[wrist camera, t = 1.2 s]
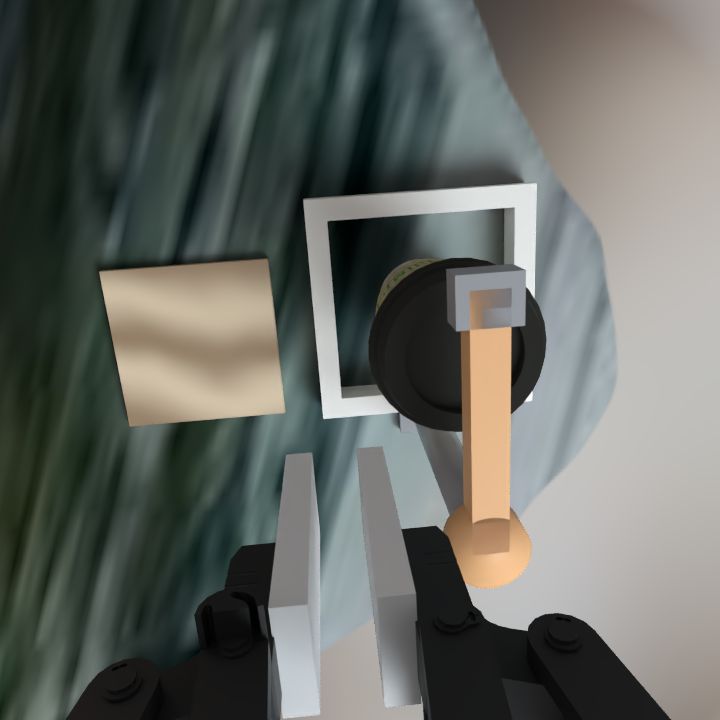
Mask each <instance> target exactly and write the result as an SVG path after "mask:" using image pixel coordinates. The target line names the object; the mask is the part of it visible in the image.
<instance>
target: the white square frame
mask: <svg viewBox="0 0 720 720" xmlns="http://www.w3.org/2000/svg"><path fill="white" fill-rule="evenodd" d="M536 192H537V183H513V184H499V185H485V186H471V187H457V188H443V189H429V190H416V191H402V192H388V193H374V194H360V195H346V196H332V197H319V198H305V199H303V204H304V215H305V225H306V236H307V247H308V258H309V269H310V279H311V290H312V301H313V312H314V323H315V333H316V344H317V355H318V366H319V377H320V387H321V398H322V409H323V419H329V418H340V417H352V416H363V415H374V414H386V413H397V412H398V411H397V410H396V409H395V408H394V407H393V406H392V405H390V404H389V403H388V401H387V400H386V399H385V397H384V396H383V394H382V393H381V392H380V390H379V389H378V386H377V384H374V385H362V386H351V387H341V384H340V371H339V359H338V347H337V335H336V322H335V310H334V298H333V286H332V273H331V261H330V249H329V237H328V224H327V221H335V220H349V219H362V218H376V217H390V216H403V215H417V214H430V213H444V212H457V211H471V210H484V209H498V208H504V265H505V264H514V265H516V266H518V267H520V268H523V269H525V270H526V287H527V288H528V289H529V291H530V292H531V294H532V296H533V297H534V290H535V241H536ZM525 401H532V392H531V393H530V395H529V396H528V397H527V399H526V400H525ZM399 424H400V431H401V433H407V432H418V433H419V436H420V438H421V441H422V444H423V446H424V449H425V451H426V454H427V457H428V459H429V462H430V464H431V467H432V470H433V472H434V475H435V478H436V480H437V483H438V485H439V488H440V491H441V493H442V496H443V498H444V501H445V504H446V506H447V509H448V512H449V514H450V515H451V514H452V513H453V511H454V510H456V509H457V508H458V507H459V506H461V505H462V504H464V491H463V446H462V444H461V442H460V440H459V438H458V437H457V435H456V433H455V432H453V431H450V432H448V431H442V430H435V429H430V428H428V427H425V426H422V425H419V424H416V423H415V422H413V421H411V420H409V419H408V418H406V417H404V416H403V415H402V414H400V413H399Z"/></svg>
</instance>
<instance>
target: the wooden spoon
mask: <svg viewBox="0 0 720 720" xmlns="http://www.w3.org/2000/svg"><path fill="white" fill-rule="evenodd" d="M446 277H447V319H448V323H449V324H450V325H451V326H452V327H453V328H454V330H455V331H461V375H462V433H463V491H464V504H462V505H461V506H459V507H458V508H457V509H456V510H454V511H453V513H452V514H451V515H450V516H449V518H448V519H447V521H446V523H445V526H444V531H443V532H444V533H445V534H446V535H447V536H448V537H449V540H450V542H451V545H452V548H453V552H454V554H455V557H456V559H457V564H458V565H459V568H460V571H461V573H462V576H463V579H464V582H465V583H466V584H468V585H471V586H474V587H477V588H486V589H487V588H496V587H500V586H503V585H506V584H508V583H510V582H511V581H513V580H514V579H516V578H517V577H518V576H519V575H520V574H521V573H522V572H523V571H524V570H525V568H526V567H527V565H528V563H529V560H530V557H531V550H532V548H531V541H530V538H529V536H528V534H527V533H526V531H525V529H524V527H523V526H522V524H521V522H520V520H519V519H518V517H517V515H516V513H515V512H514V511H513V509H512V508H511V507H510V428H511V327H516V326H525V305H526V270H525V269H523V268H520V267H518V266H516V265H514V264H505V265H493V266H480V267H467V268H454V269H446Z"/></svg>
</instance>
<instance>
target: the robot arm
mask: <svg viewBox="0 0 720 720" xmlns="http://www.w3.org/2000/svg"><path fill="white" fill-rule="evenodd" d="M357 458H358V471H359V484H360V497H361V511H362V524H363V534H364V542H365V550H366V558H367V566H368V575H369V583H370V591H371V599H372V607H373V615H374V624H375V632H376V639H377V648H378V656H379V664H380V673H381V680H382V689H383V697H384V705H385V708H386V707H395V706H405V705H414V704H421V696H422V702H423V712H424V720H671V719H670V718H669V717H668V716H667V715H666V713H665V712H664V711H663V710H662V709H661V707H659V705H658V704H657V703H656V701H655V700H654V699H653V698H652V697H651V696H650V694H649V693H648V692H647V691H646V690H645V689H644V687H643V686H642V685H641V684H640V683H639V682H638V681H637V679H636V678H635V677H634V676H633V675H632V673H631V672H630V671H629V670H628V669H627V668H626V667H625V665H624V664H623V663H622V662H621V661H620V659H619V658H618V657H617V656H616V655H615V654H614V652H612V650H611V649H610V648H609V647H608V645H607V644H606V643H605V642H604V641H603V640H602V638H601V637H600V636H599V635H598V634H597V633H596V631H595V630H593V628H591V627H590V626H589V625H588V624H587V623H585V622H584V621H582V620H580V619H578V618H575V617H573V616H570V615H564V614H559V613H554V614H545V615H542V616H540V617H538V618H535V619H534V621H533V622H532V623H531V624H530V625H529V627H528V631H524V630H517V629H510V628H506V627H501V626H498V625H496V624H493V623H491V622H489V621H487V620H486V619H485V618H484V617H483V615H482V613H481V611H479V610H478V609H477V608H476V607H474V606H473V604H472V602H471V599H470V596H469V593H468V590H467V588H466V585H465V582H464V579H463V576H462V573H461V571H460V568H459V565H458V564H457V559H456V557H455V554H454V552H453V548H452V545H451V542H450V540H449V537H448V536H447V535H446V534H445V533H444V532H442V531H441V530H440V529H439V528H438V527H437V526H430V527H420V528H409V529H401V526H400V522H399V517H398V513H397V509H396V504H395V500H394V496H393V491H392V487H391V482H390V478H389V474H388V469H387V465H386V461H385V456H384V452H383V448H382V446H380V447H369V448H358V449H357ZM194 616H195V622H196V627H197V633H198V638H199V644H200V649H201V651H200V653H199V654H197V655H196V656H194V657H193V658H191V659H190V660H187V661H185V662H183V663H181V664H178V665H176V666H173V667H170V668H167V669H164V670H162V671H159V672H158V668H157V666H156V665H155V664H154V663H153V662H151V661H150V660H146V659H142V658H133V659H125V660H122V661H120V662H117V663H115V664H112V665H110V666H109V667H107V668H106V669H104V670H103V671H101V672H100V673H98V674H97V676H96V677H95V678H94V679H93V680H92V681H91V682H90V683H89V685H88V686H87V688H86V689H85V691H84V692H83V694H82V695H81V697H80V698H79V700H78V702H77V703H76V705H75V706H74V708H73V709H72V711H71V712H70V714H69V715H68V717H67V718H66V720H280V714H281V706H282V714H283V719H284V718H294V717H303V716H312V715H320V528H319V519H318V509H317V499H316V489H315V479H314V469H313V459H312V453H302V454H291V455H286V461H285V470H284V478H283V487H282V495H281V504H280V512H279V520H278V529H277V537H276V543H268V544H257V545H247V546H242V547H241V548H240V549H239V550H238V551H237V553H236V554H235V555H234V556H233V557H232V559H231V561H230V565H229V570H228V577H227V579H226V583H225V589H224V590H222V591H218V592H217V593H215V594H213V595H211V596H209V597H207V598H206V599H205V600H204V601H203V602H202V603H201V604H200V605H199V606H198V608H197V611H196V613H195V615H194Z"/></svg>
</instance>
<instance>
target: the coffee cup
mask: <svg viewBox="0 0 720 720" xmlns="http://www.w3.org/2000/svg"><path fill="white" fill-rule="evenodd" d="M493 265H496V264H493V263H491V262H488V261H484V260H479V259H473V258H450V259H445V260H443V259H434V258H431V259H415V260H410V261H407V262H405V263H402V264H400V265H399V266H397V267H396V268H395V269H393V270H392V271H391V272H390V273H389V274H388V276H387V277H386V279H385V280H384V282H383V285H382V287H381V290H380V293H379V296H378V300H377V305H376V313H375V318H374V320H373V323H372V326H371V331H370V336H369V342H368V343H369V362H370V367H371V371H372V375H373V378H374V380H375V382H376V384H377V386H378V389H379V390H380V392H381V393H382V394H383V396H384V397H385V399H386V400H387V401H388V403H389V404H390V405H392V406H393V407H394V408H395V409H396V410H397V411H398V412H399V413H400V414H402V415H403V416H404V417H406V418H408V419H409V420H411V421H413V422H415V423H416V424H419V425H422V426H425V427H428V428H430V429H435V430H442V431H448V432H450V431H453V432H462V375H461V331H455V330H454V328H453V327H452V326H451V325H450V324H449V323H448V319H447V277H446V269H454V268H467V267H480V266H493ZM545 350H546V332H545V323H544V320H543V317H542V314H541V311H540V308H539V306H538V304H537V302H536V301H535V299H534V297H533V296H532V294H531V292H530V291H529V289H528V288H527V287H526V305H525V326H516V327H511V414H512V413H513V412H514V411H515V410H516V409H517V408H518V407H519V406H521V405H522V404H523V403H524V401H525V400H526V399H527V397H528V396H529V395H530V393H531V392H532V391H533V389H534V387H535V385H536V383H537V381H538V379H539V377H540V373H541V370H542V366H543V362H544V358H545Z"/></svg>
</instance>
